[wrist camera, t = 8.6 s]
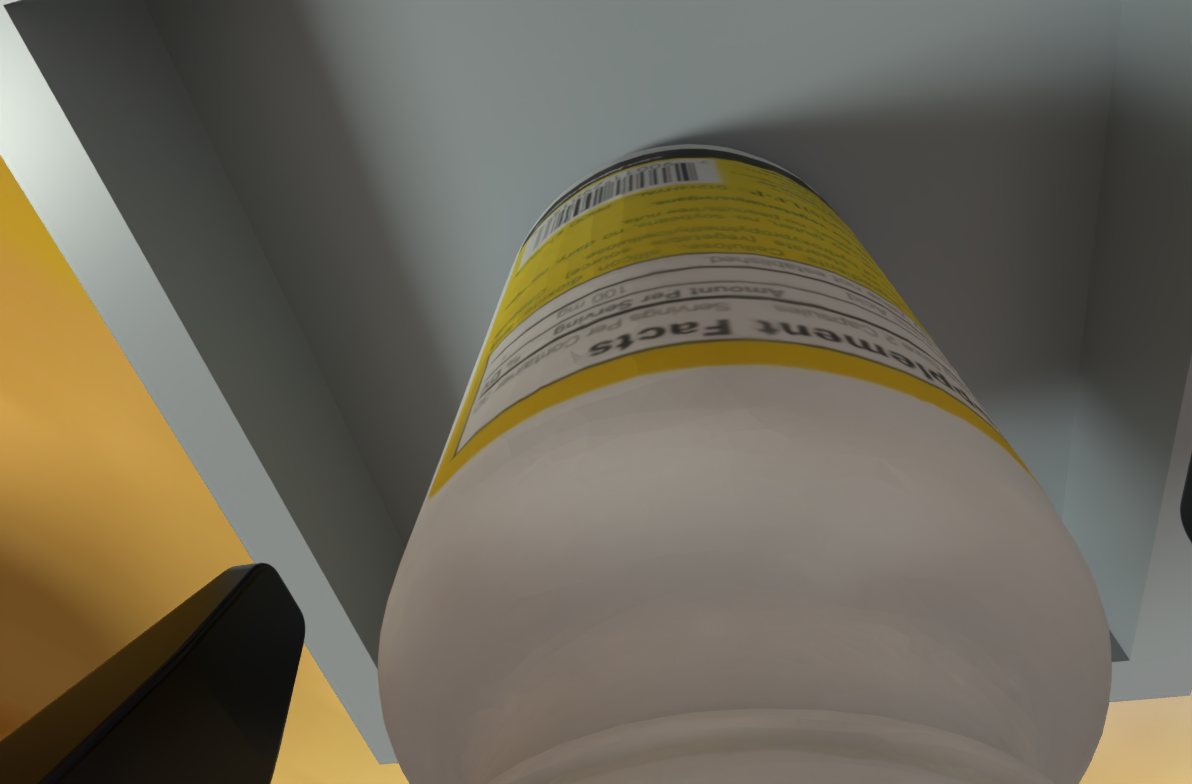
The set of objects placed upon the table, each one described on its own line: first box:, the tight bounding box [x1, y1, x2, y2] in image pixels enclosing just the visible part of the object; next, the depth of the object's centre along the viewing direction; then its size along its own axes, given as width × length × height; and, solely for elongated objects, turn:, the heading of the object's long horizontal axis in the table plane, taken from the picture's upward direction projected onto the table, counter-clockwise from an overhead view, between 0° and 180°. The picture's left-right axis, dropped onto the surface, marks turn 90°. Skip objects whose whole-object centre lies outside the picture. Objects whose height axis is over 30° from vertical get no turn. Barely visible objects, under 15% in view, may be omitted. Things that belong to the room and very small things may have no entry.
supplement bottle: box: [378, 144, 1112, 784], centre depth 7 cm, size 5×5×10 cm
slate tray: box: [0, 0, 1192, 764], centre depth 11 cm, size 14×14×3 cm
